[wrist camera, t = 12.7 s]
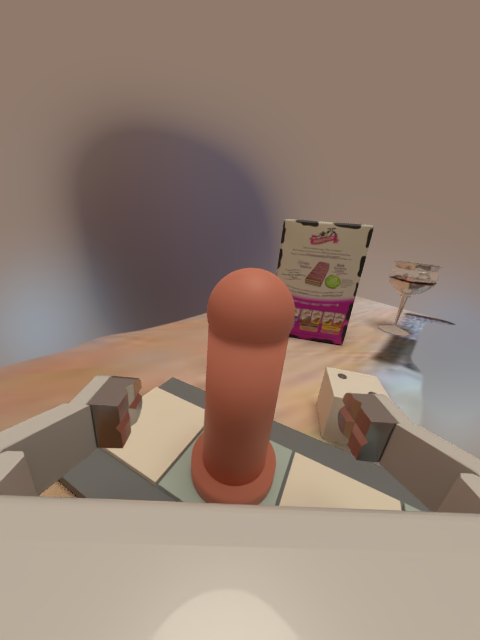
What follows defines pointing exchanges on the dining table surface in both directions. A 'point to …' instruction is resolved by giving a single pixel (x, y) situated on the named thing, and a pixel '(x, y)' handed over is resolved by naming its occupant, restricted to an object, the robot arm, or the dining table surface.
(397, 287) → the wineglass
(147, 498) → the track board
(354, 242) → the candy bar box
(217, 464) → the pawn
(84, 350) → the dining table surface
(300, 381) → the dining table surface
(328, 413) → the die
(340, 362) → the dining table surface
